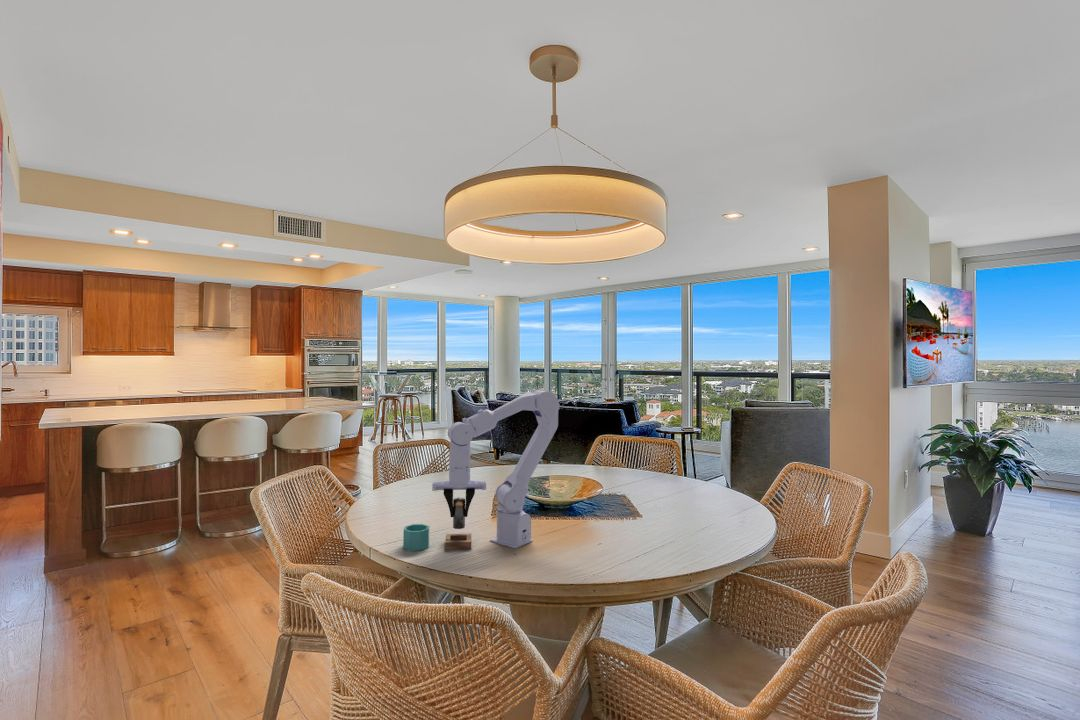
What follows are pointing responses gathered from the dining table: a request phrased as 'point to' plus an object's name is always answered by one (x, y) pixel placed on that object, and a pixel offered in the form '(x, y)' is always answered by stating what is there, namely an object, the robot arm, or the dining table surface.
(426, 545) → the cup
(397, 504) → the dining table surface
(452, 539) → the block
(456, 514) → the cell
